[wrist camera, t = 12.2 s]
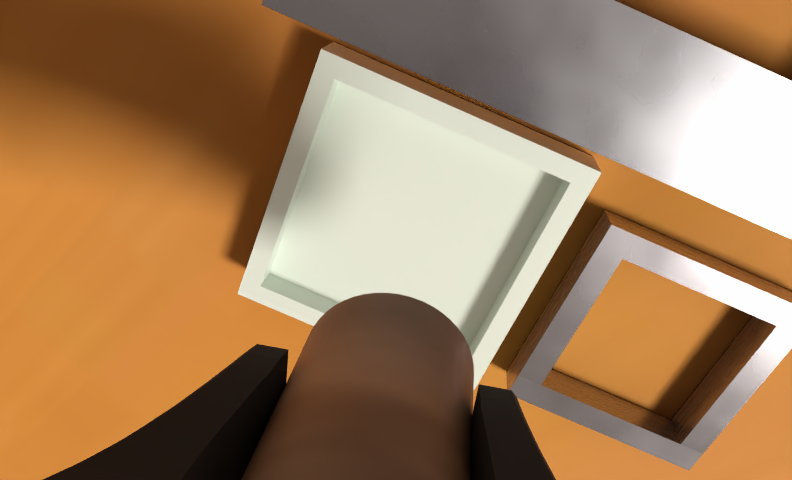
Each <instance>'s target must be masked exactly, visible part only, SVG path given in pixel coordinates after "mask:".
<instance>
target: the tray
mask: <svg viewBox="0 0 792 480" xmlns="http://www.w3.org/2000/svg"><path fill="white" fill-rule="evenodd" d="M601 173H602V172H601V170H600V168H599V167H598V165H597V163H596V161H595V159H594V157H593V156H591V155H588V154H586V153H584V152H582V151H579V150H577V149H575V148H573V147H570V146H568V145H566V144H563V143H561V142H559V141H557V140H554V139H552V138H550V137H548V136H545V135H543V134H541V133H539V132H536V131H534V130H532V129H530V128H527V127H525V126H523V125H521V124H518V123H516V122H514V121H511V120H509V119H507V118H505V117H502V116H500V115H498V114H496V113H493V112H491V111H489V110H487V109H484V108H482V107H480V106H478V105H475V104H473V103H471V102H468V101H466V100H464V99H462V98H459V97H457V96H455V95H453V94H450V93H448V92H446V91H444V90H441V89H439V88H437V87H435V86H432V85H430V84H428V83H425V82H423V81H421V80H419V79H416V78H414V77H412V76H410V75H407V74H405V73H403V72H401V71H398V70H396V69H394V68H392V67H389V66H387V65H385V64H383V63H380V62H378V61H376V60H373V59H371V58H369V57H367V56H364V55H362V54H360V53H358V52H355V51H353V50H351V49H349V48H346V47H344V46H342V45H340V44H337V43H335V42H333V43H331V44H329V45H327V46H325V47H323V48H322V49H321V51H320V53H319V56H318V59H317V62H316V65H315V68H314V71H313V74H312V77H311V80H310V83H309V86H308V89H307V92H306V95H305V97H304V100H303V103H302V106H301V109H300V112H299V115H298V118H297V121H296V124H295V127H294V130H293V133H292V136H291V139H290V141H289V144H288V147H287V150H286V153H285V156H284V159H283V162H282V165H281V168H280V171H279V174H278V177H277V180H276V183H275V185H274V188H273V191H272V194H271V197H270V200H269V203H268V206H267V209H266V212H265V215H264V218H263V221H262V224H261V227H260V229H259V232H258V235H257V238H256V241H255V244H254V247H253V250H252V253H251V256H250V259H249V262H248V265H247V268H246V271H245V273H244V276H243V279H242V282H241V285H240V288H239V291H238V294H239V295H241V296H244V297H246V298H249V299H251V300H253V301H256V302H258V303H260V304H263V305H265V306H267V307H270V308H272V309H275V310H277V311H279V312H282V313H284V314H286V315H289V316H291V317H294V318H296V319H298V320H301V321H303V322H305V323H308V324H310V325H313V326H314V325H315V324H316V323H317V321H318V320H319V319H320V318H321V317H322V316H323V315H324V314H325V313H326V312H327V311H328V310H329V309H331V308H332V307H333V306H335V305H336V304H338V303H340V302H342V301H344V300H346V299H349V298H352V297H355V296H359V295H363V294H369V293H394V294H401V295H405V296H409V297H412V298H415V299H418V300H421V301H423V302H425V303H427V304H429V305H431V306H433V307H434V308H436V309H437V310H439V311H440V312H442V313H443V314H444V315H445V316H447V317H448V318H449V319H450V320H451V321H452V322H453V323H454V324H455V325H456V326H457V327H458V329H459V330H460V331H461V333H462V334H463V336H464V337H465V339H466V341H467V343H468V345H469V348H470V351H471V354H472V358H473V364H474V387H473V391H474V390H475V388H476V386H477V384H478V383H479V381H480V379H481V378H482V376H483V374H484V372H485V371H486V369H487V367H488V366H489V364H490V362H491V361H492V359H493V357H494V355H495V354H496V352H497V350H498V349H499V347H500V345H501V343H502V342H503V340H504V338H505V337H506V335H507V333H508V332H509V330H510V328H511V326H512V325H513V323H514V321H515V320H516V318H517V316H518V314H519V313H520V311H521V309H522V308H523V306H524V304H525V302H526V301H527V299H528V297H529V296H530V294H531V292H532V291H533V289H534V287H535V285H536V284H537V282H538V280H539V279H540V277H541V275H542V273H543V272H544V270H545V268H546V267H547V265H548V263H549V262H550V260H551V258H552V256H553V255H554V253H555V251H556V250H557V248H558V246H559V244H560V243H561V241H562V239H563V238H564V236H565V234H566V232H567V231H568V229H569V227H570V226H571V224H572V222H573V221H574V219H575V217H576V215H577V214H578V212H579V210H580V209H581V207H582V205H583V203H584V202H585V200H586V198H587V197H588V195H589V193H590V192H591V190H592V188H593V186H594V185H595V183H596V181H597V180H598V178H599V176H600V174H601Z"/></svg>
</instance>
